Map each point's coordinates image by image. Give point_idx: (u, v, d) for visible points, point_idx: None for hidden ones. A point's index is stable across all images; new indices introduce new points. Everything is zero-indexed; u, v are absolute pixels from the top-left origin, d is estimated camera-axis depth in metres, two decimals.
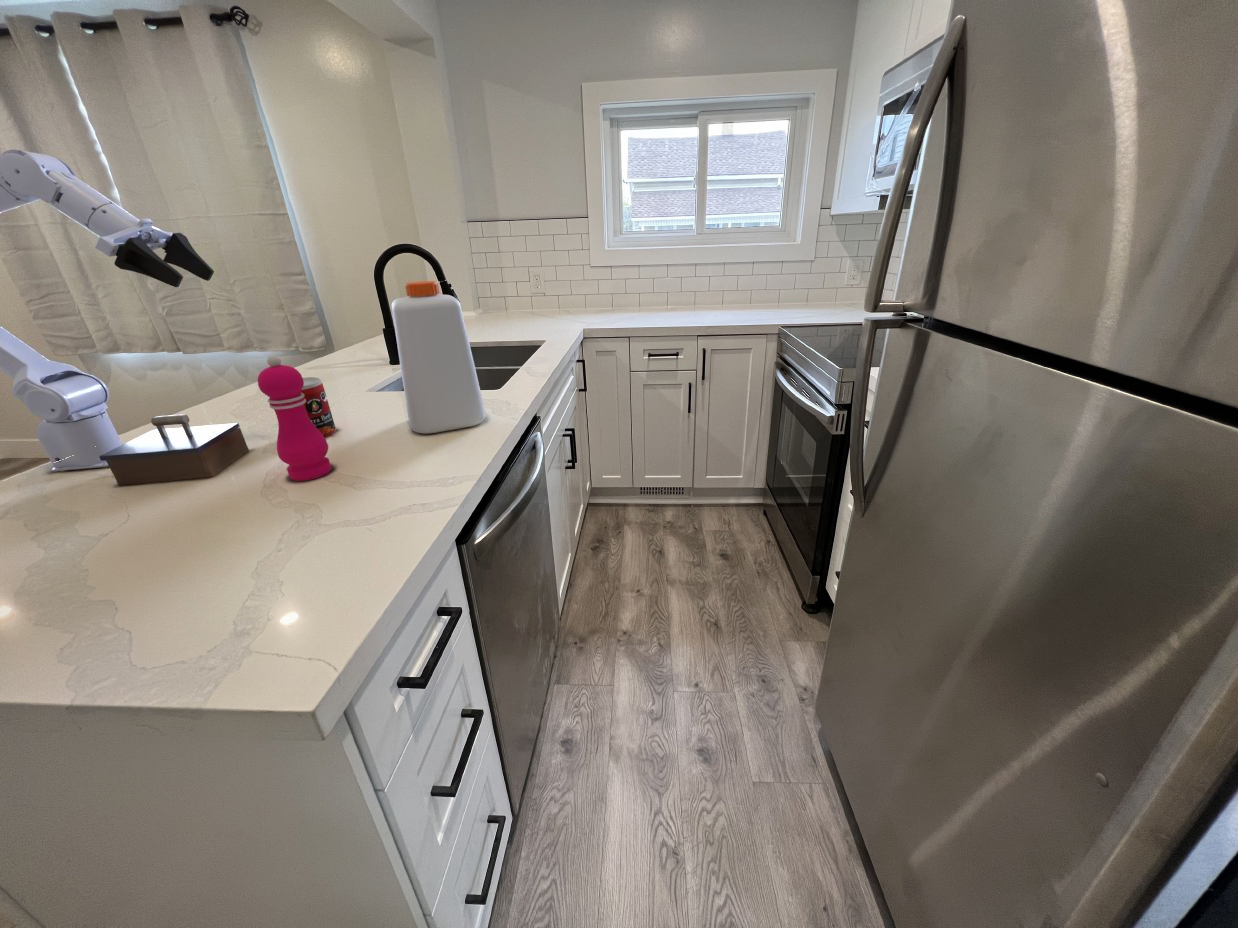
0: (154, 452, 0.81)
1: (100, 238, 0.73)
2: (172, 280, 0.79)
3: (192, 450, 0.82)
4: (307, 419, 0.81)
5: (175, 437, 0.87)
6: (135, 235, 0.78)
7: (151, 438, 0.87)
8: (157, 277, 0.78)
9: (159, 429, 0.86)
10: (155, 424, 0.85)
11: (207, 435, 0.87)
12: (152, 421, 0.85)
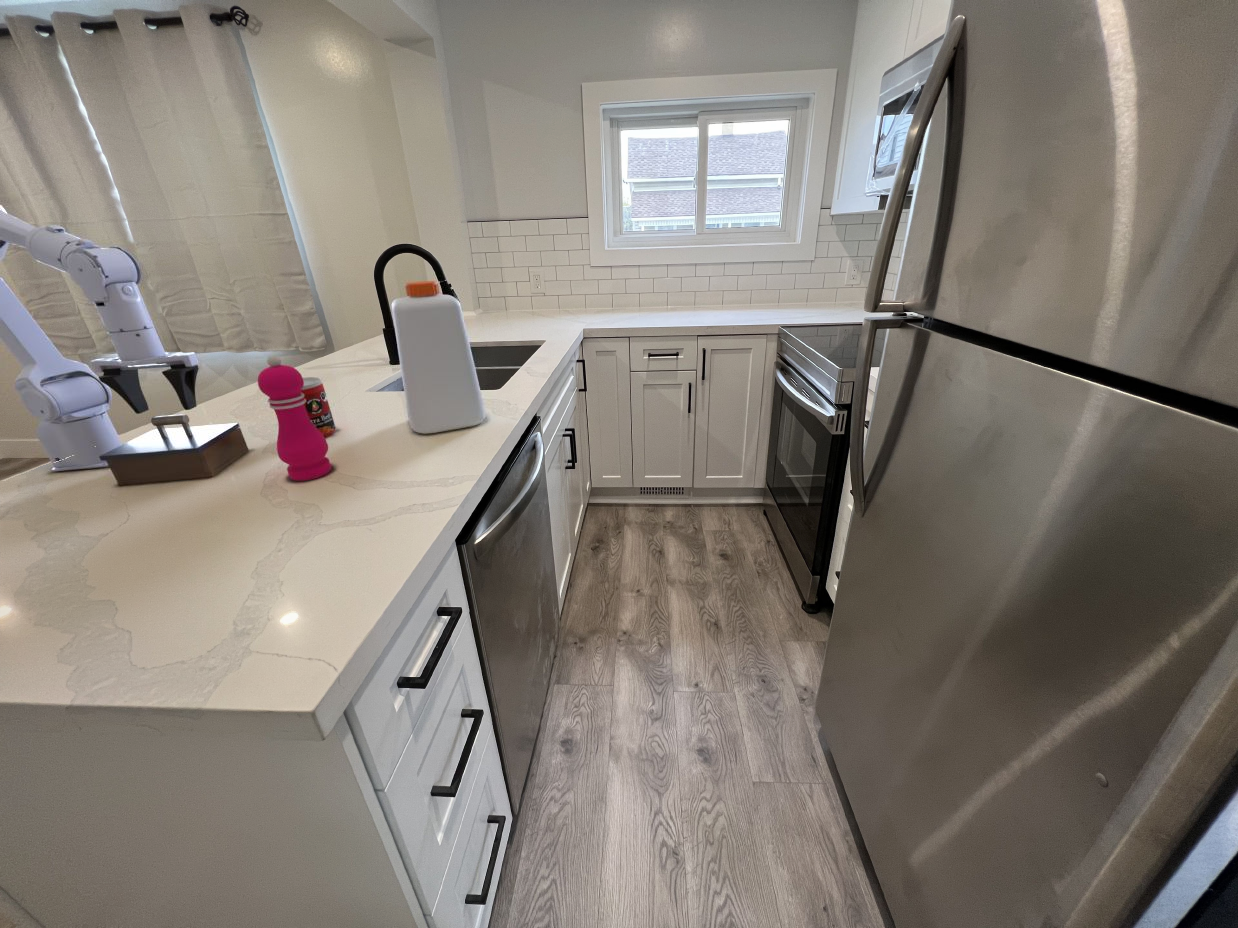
0: (154, 452, 0.81)
1: None
2: None
3: (192, 450, 0.82)
4: (307, 419, 0.81)
5: (175, 437, 0.87)
6: None
7: (151, 438, 0.87)
8: None
9: (159, 429, 0.86)
10: (155, 424, 0.85)
11: (207, 435, 0.87)
12: (152, 421, 0.85)
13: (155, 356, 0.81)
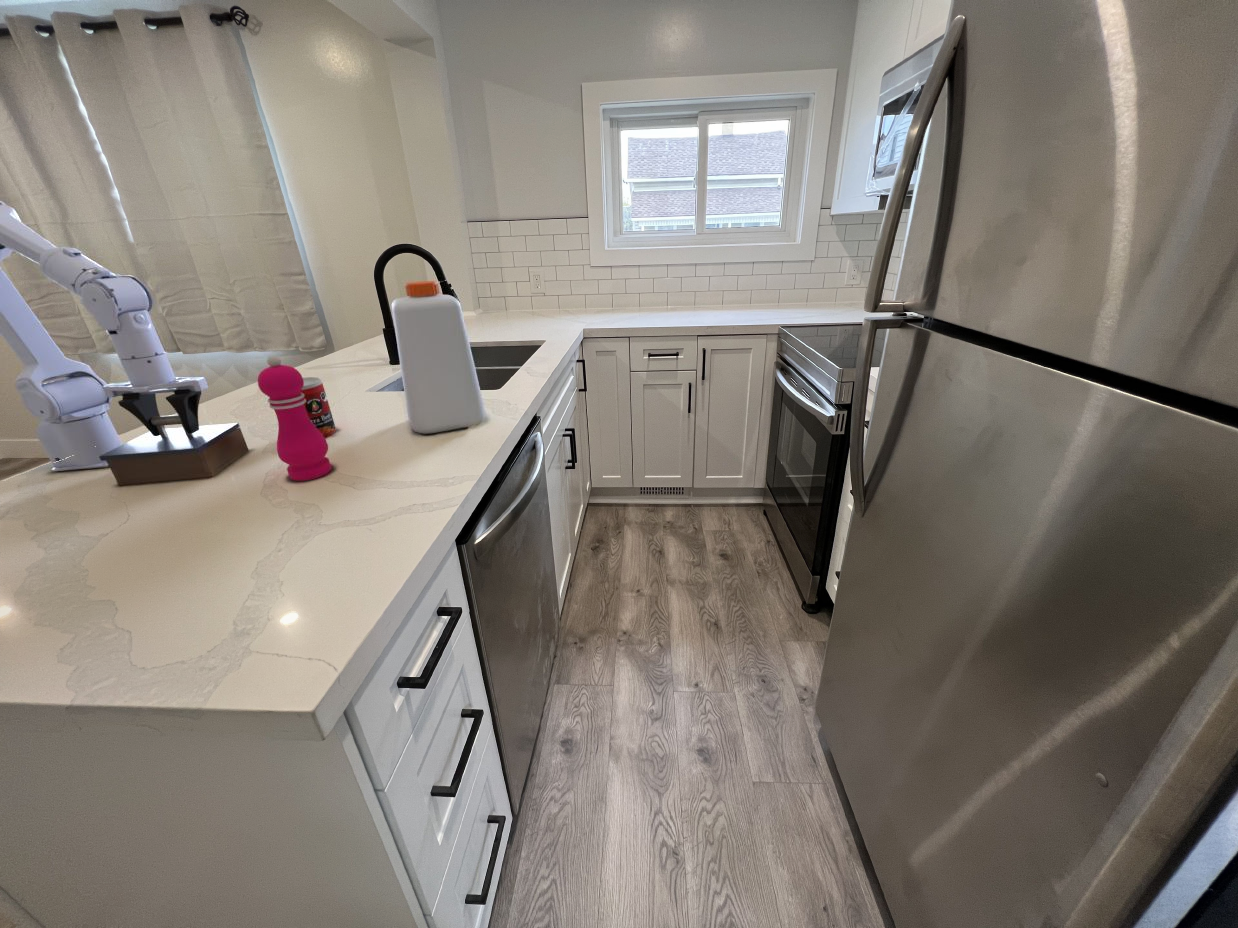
0: (154, 452, 0.81)
1: (103, 387, 0.82)
2: None
3: (192, 450, 0.82)
4: (307, 419, 0.81)
5: (175, 437, 0.87)
6: None
7: (151, 438, 0.87)
8: None
9: (159, 429, 0.86)
10: (155, 424, 0.85)
11: (207, 435, 0.87)
12: (152, 421, 0.85)
13: (166, 381, 0.82)
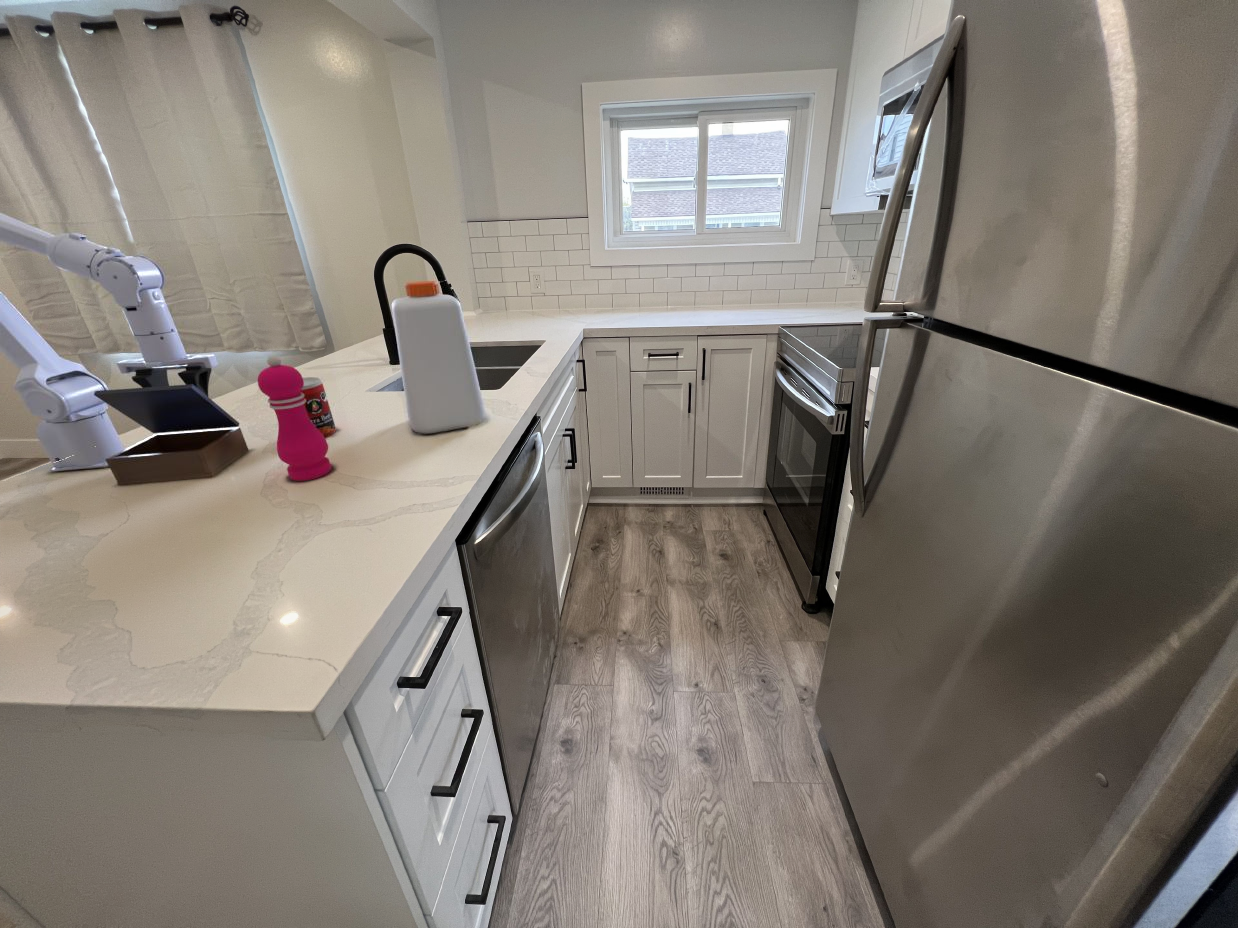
0: (149, 387, 0.81)
1: (117, 363, 0.85)
2: None
3: (187, 386, 0.82)
4: (307, 419, 0.81)
5: None
6: None
7: None
8: None
9: None
10: None
11: None
12: None
13: (177, 358, 0.85)
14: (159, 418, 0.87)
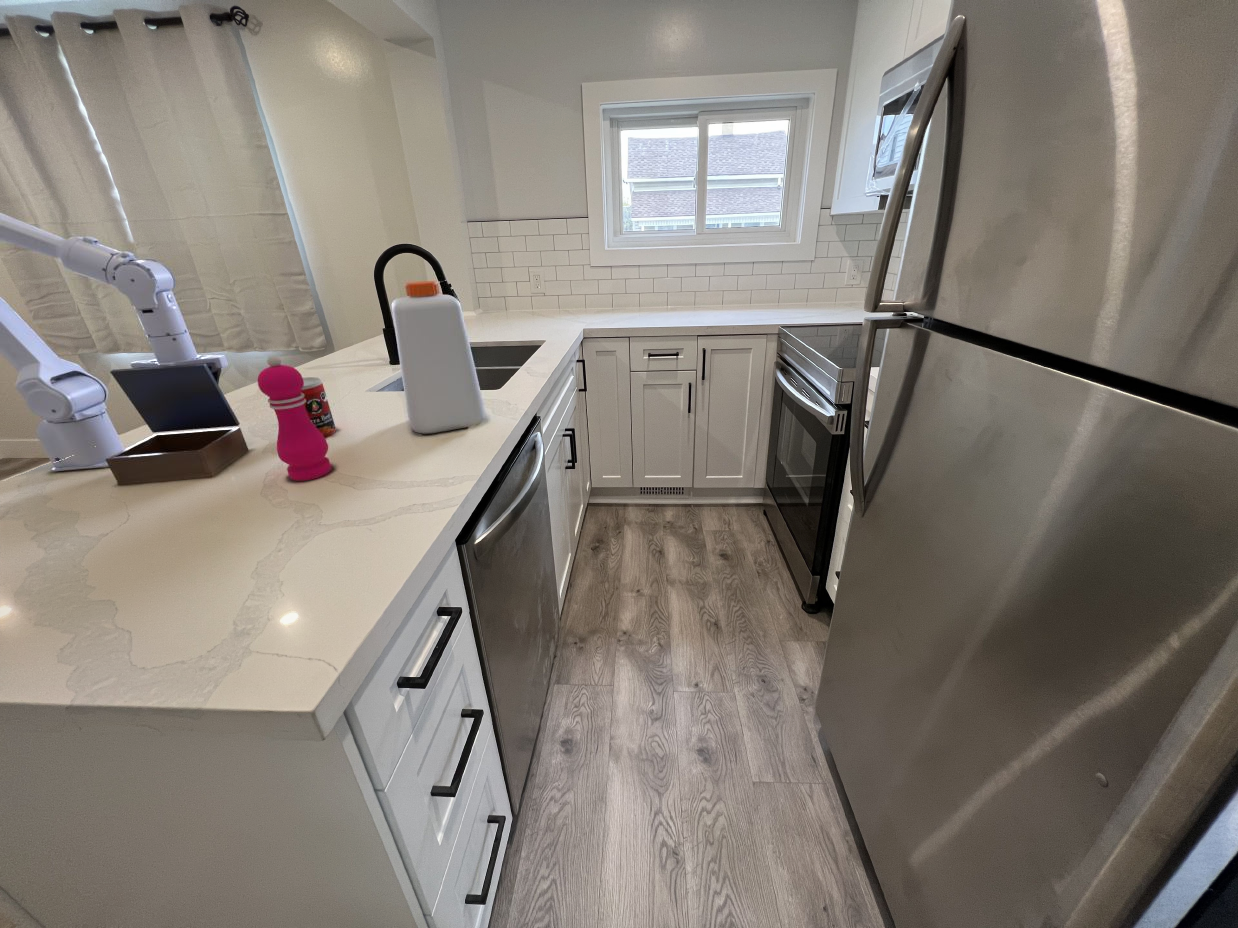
0: (164, 366, 0.85)
1: None
2: None
3: (200, 364, 0.85)
4: (307, 419, 0.81)
5: None
6: None
7: None
8: None
9: None
10: None
11: None
12: None
13: (189, 358, 0.88)
14: (163, 409, 0.88)
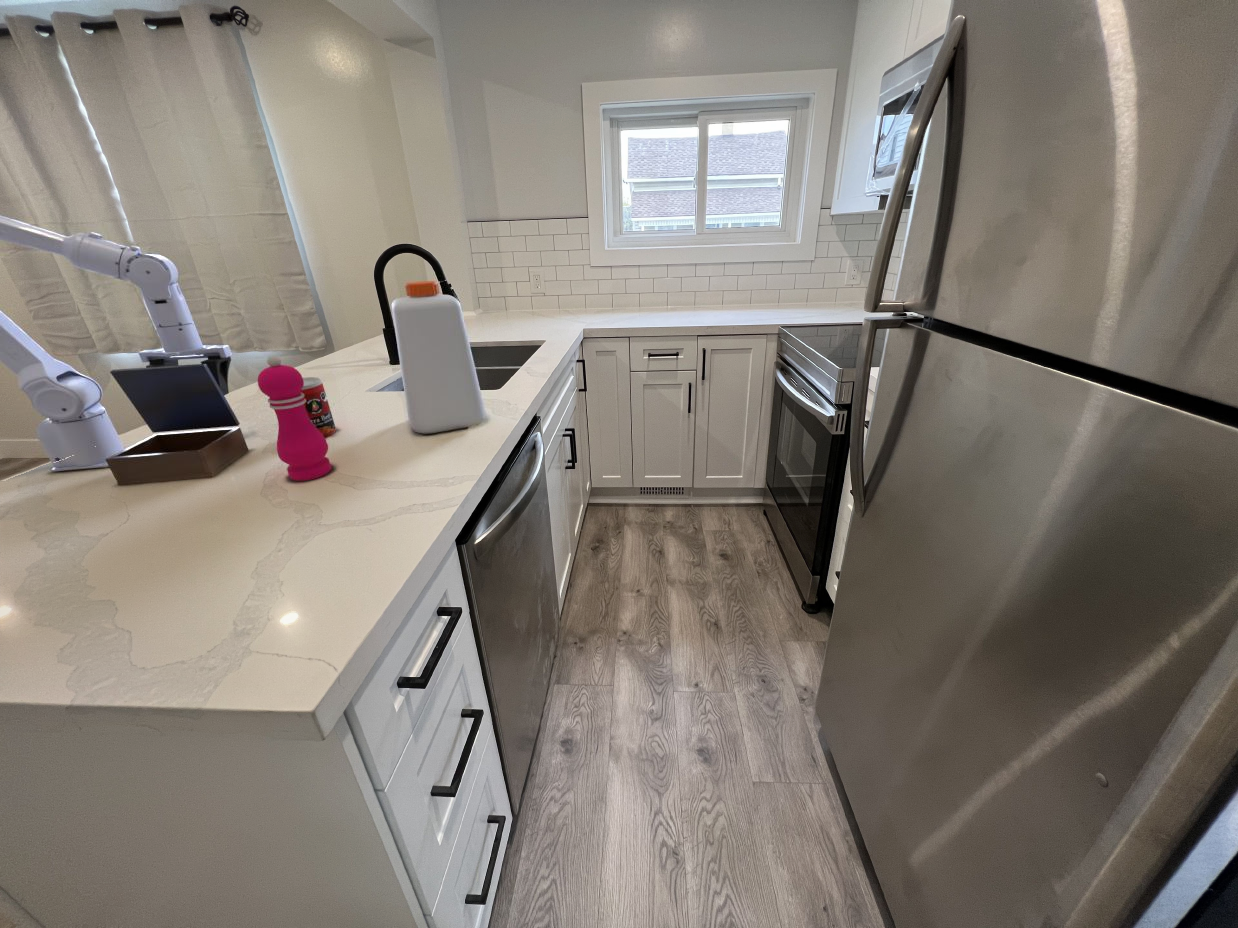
0: (164, 366, 0.85)
1: (139, 353, 0.91)
2: None
3: (200, 364, 0.85)
4: (307, 419, 0.81)
5: None
6: None
7: None
8: None
9: None
10: None
11: None
12: None
13: (195, 348, 0.92)
14: (163, 409, 0.88)
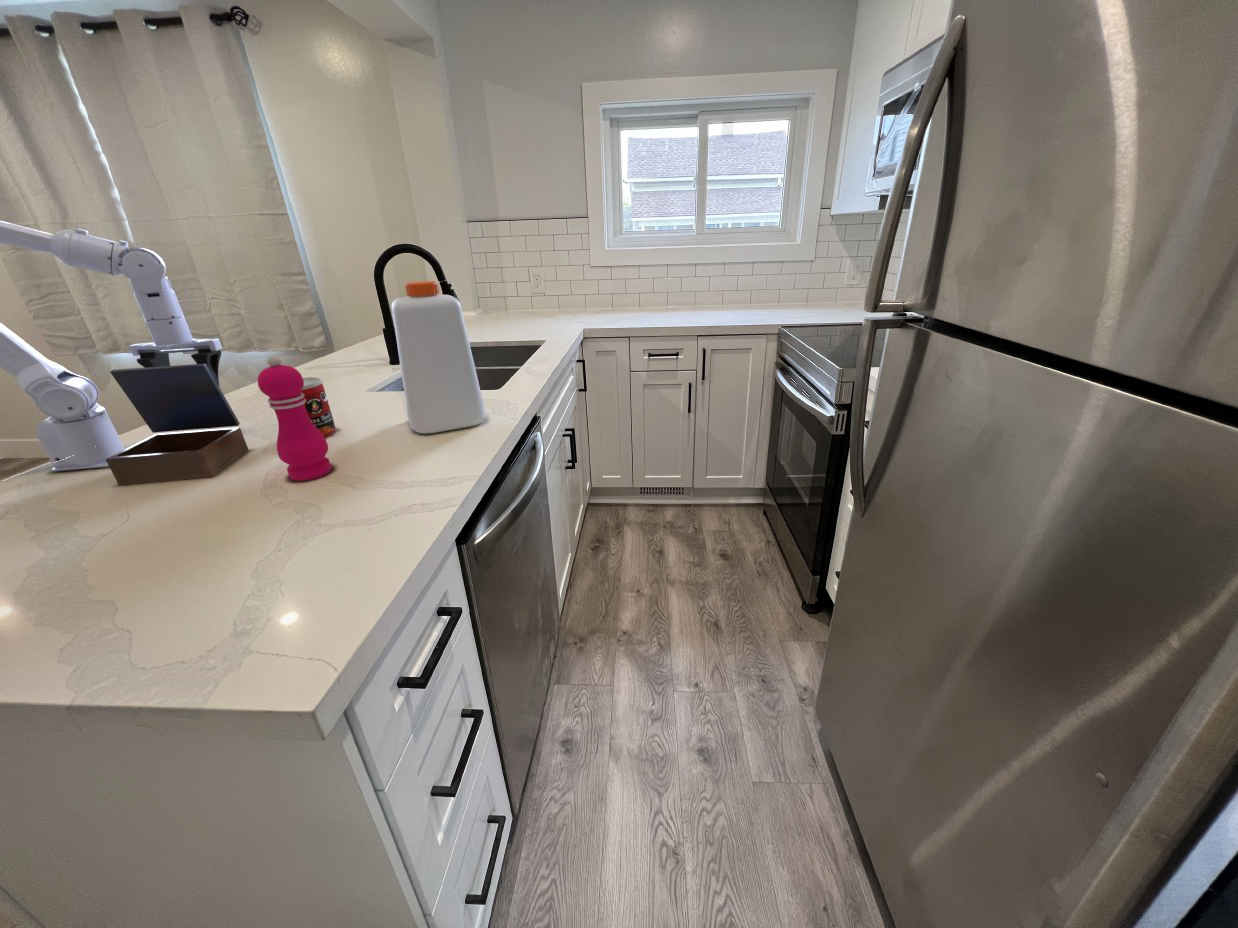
0: (164, 366, 0.85)
1: (129, 346, 0.92)
2: None
3: (200, 364, 0.85)
4: (307, 419, 0.81)
5: None
6: None
7: None
8: None
9: None
10: None
11: None
12: None
13: (185, 341, 0.93)
14: (163, 409, 0.88)
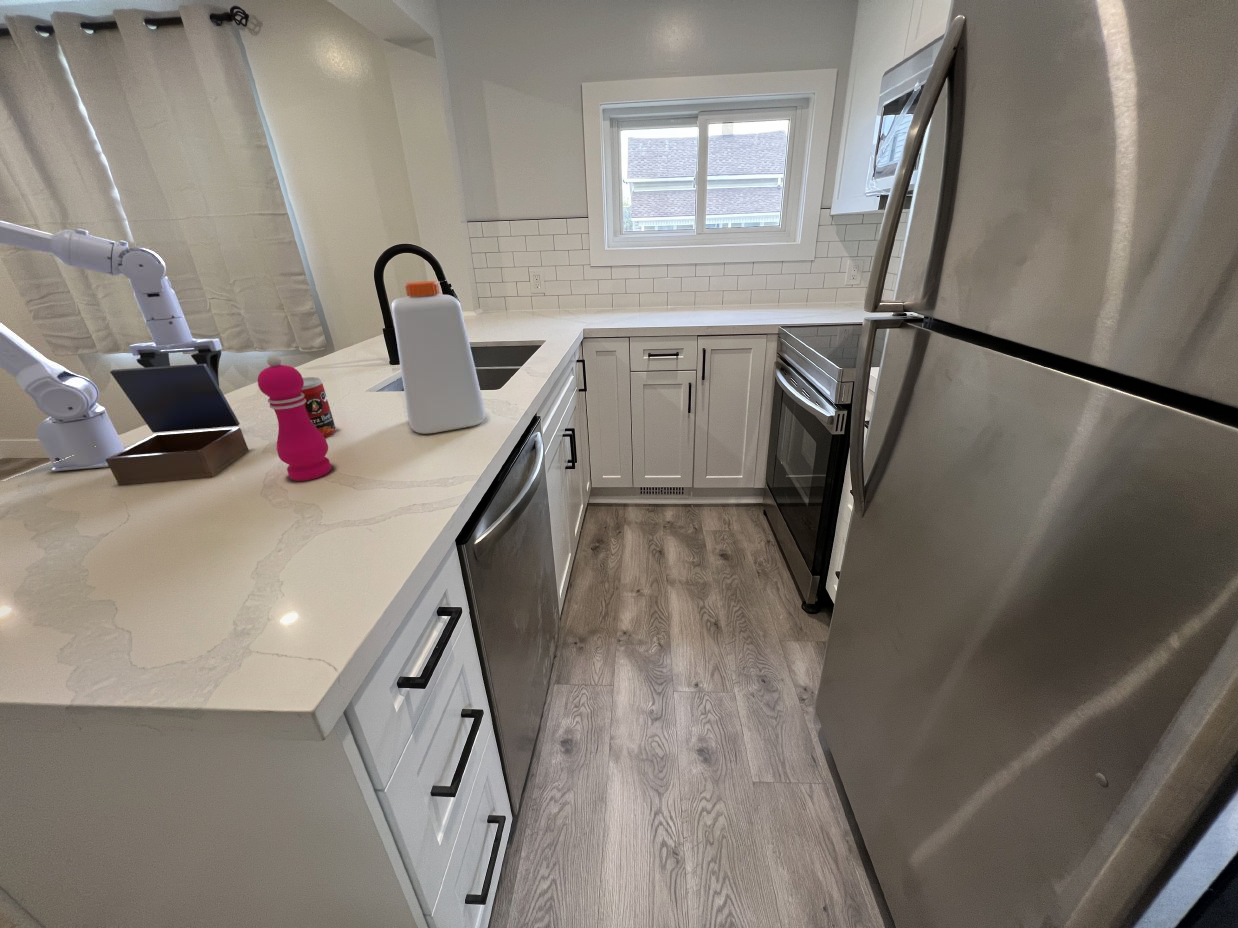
0: (164, 366, 0.85)
1: (129, 346, 0.92)
2: None
3: (200, 364, 0.85)
4: (307, 419, 0.81)
5: None
6: None
7: None
8: None
9: None
10: None
11: None
12: None
13: (185, 341, 0.93)
14: (163, 409, 0.88)
